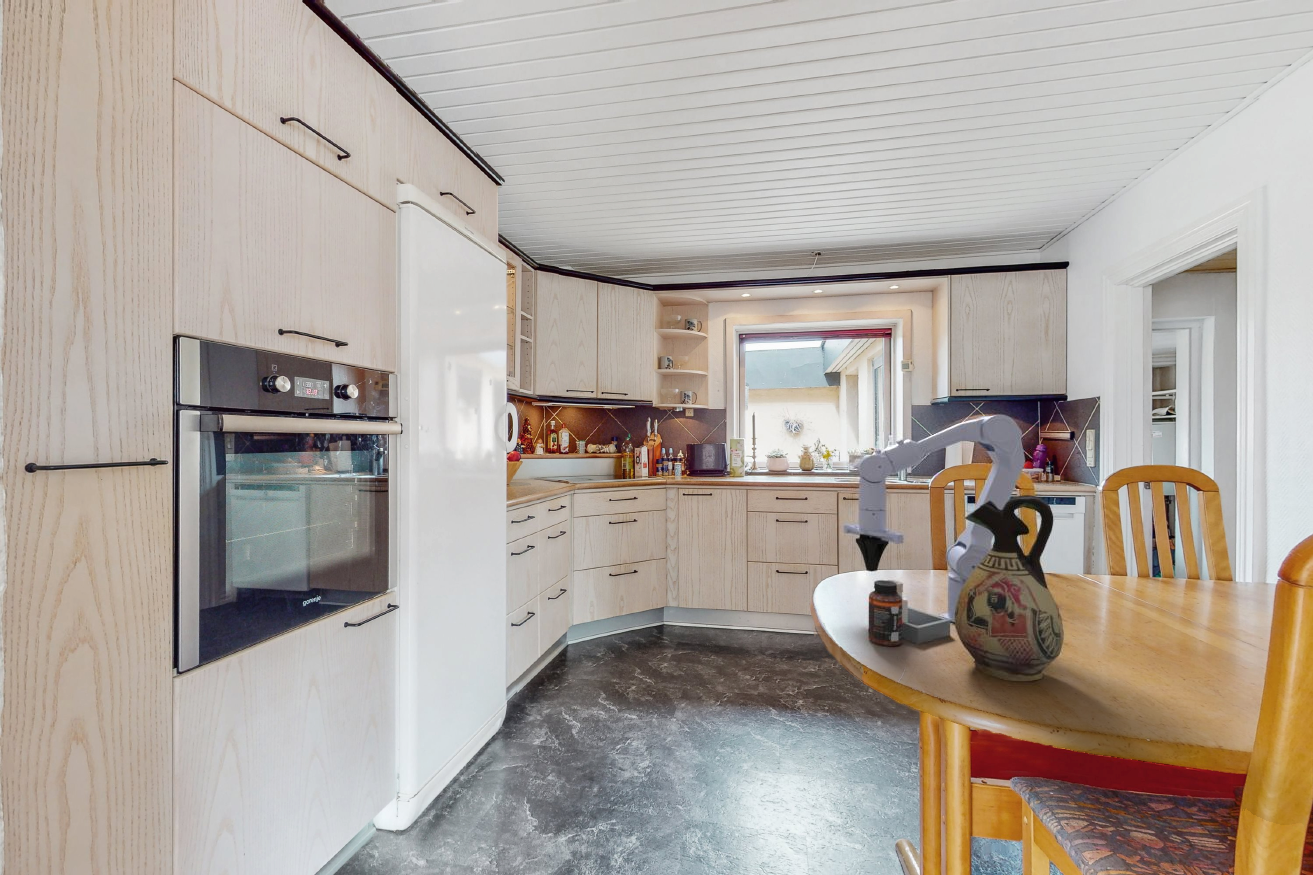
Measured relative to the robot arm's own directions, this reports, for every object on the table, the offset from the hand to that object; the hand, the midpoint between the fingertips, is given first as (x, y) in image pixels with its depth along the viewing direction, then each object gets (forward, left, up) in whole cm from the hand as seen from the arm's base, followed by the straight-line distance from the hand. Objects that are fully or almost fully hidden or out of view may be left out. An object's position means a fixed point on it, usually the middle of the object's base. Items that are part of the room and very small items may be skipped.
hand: (871, 570), depth 122 cm
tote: (+2, +12, -9) cm, 15 cm away
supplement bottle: (+11, +13, -10) cm, 20 cm away
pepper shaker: (+4, +9, -10) cm, 14 cm away
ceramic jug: (+4, +32, -10) cm, 34 cm away
